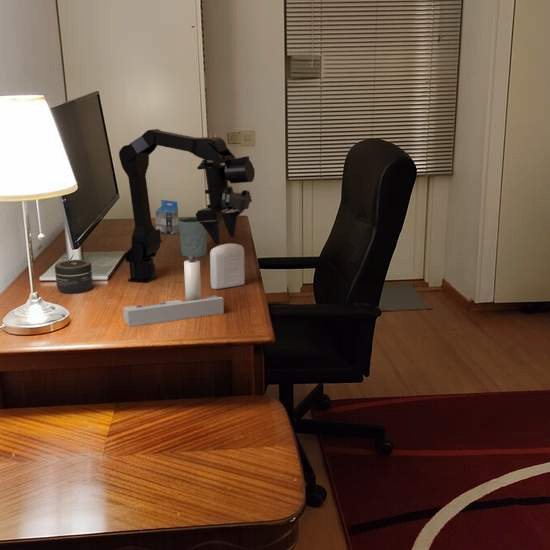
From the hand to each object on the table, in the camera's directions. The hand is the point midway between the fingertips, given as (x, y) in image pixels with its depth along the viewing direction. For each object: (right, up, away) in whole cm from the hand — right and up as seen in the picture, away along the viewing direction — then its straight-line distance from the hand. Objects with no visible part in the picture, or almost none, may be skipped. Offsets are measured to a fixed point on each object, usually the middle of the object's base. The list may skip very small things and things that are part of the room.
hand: (225, 240), depth 190 cm
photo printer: (0, -13, +7) cm, 15 cm away
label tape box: (-28, +7, +77) cm, 82 cm away
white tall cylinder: (-7, -19, -14) cm, 24 cm away
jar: (-43, -14, +5) cm, 45 cm away
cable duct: (-12, -20, -18) cm, 29 cm away
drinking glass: (-14, -2, +44) cm, 46 cm away
